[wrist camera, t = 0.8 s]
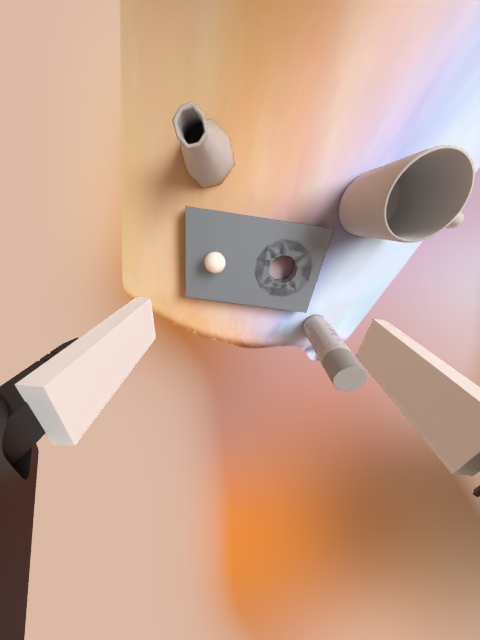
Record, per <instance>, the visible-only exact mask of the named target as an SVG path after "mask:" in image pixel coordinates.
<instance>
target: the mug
mask: <svg viewBox="0 0 480 640" xmlns="http://www.w3.org/2000/svg"><path fill="white" fill-rule="evenodd" d="M474 177H475V170H474V164H473V162H472V159H471V157H470V156H469V154H468V153H467V152H466V151H464V150H463V149H461V148H459V147H456V146H451V145H443V146H437V147H433V148H430V149H427V150H424V151H421V152H419V153H416V154H413V155H411V156H408V157H405V158H403V159H400V160H398V161H395V162H392V163H390V164H387V165H384V166H382V167H379V168H376V169H373V170H370V171H367V172H365V173H363V174H362V175H360V176H358V177H357V178H356V179H355V180H354V181H353V182H352V183H351V184H350V185H349V186H348V187H347V189H346V190H345V192H344V194H343V196H342V198H341V201H340V204H339V220H340V223H341V225H342V227H343V228H344V229H345V230H346V231H347V232H349V233H350V234H353V235H356V236H364V237H372V238H379V239H385V240H392V241H398V242H418V241H421V240H425V239H427V238H430V237H432V236H434V235H435V234H437V233H439V232H440V231H442V230H443V229H445V228H454V227H457V226H458V225H459V224H460V223H461V222H462V221H463V220H464V215H463V214H462V213H461V210H462V209H463V207H464V206H465V204H466V202H467V201H468V198H469V196H470V194H471V191H472V188H473V184H474Z"/></svg>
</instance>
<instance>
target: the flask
mask: <svg viewBox="0 0 480 640" xmlns="http://www.w3.org/2000/svg"><path fill="white" fill-rule="evenodd" d="M173 124H174V128H175V132H176V135H177V138H178V139H179V141H180V142H181V146H180V147H181V151H182V154H183V158H184V162H185V166H186V170H187V172H188V173H189V174H190V175H191V176H192V177H193V178H194V179H195V180H196V181H197V182H198V183H199V184H200V185H201V186H202V187H203V188H205V187H209V186H213V185H217V184H221V183H222V182H223V181H224V180H225V178H226V177H227V175H228V174H229V172H230V171H231V169H232V168H233V167H234V165H235V164H234V158H233V152H232V146H231V140H230V138H229V136H228V135H227V134H226V133H225V132H224V131H223V129H222V128H221V127H220V126H219V125H218V124H217V123H216V121H215V120H214V119H210V120H206V119H205V115H204V114H203V113H202V111H201V110H200V109H199V108H198V107H197V106H196V105H195V103H194V102H191V103H188V104H184V105H181V106H180V107H179V109H178V110H177V112H176V114H175V116H174V118H173Z"/></svg>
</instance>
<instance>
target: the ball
mask: <svg viewBox="0 0 480 640" xmlns="http://www.w3.org/2000/svg"><path fill="white" fill-rule="evenodd" d="M205 266H206V268H207V270H208V271H210V272H212V273H219V272H221V271H222V270H223V269H224V267H225V258H224V257H223V255H222V254H220V253H219V252H211V253H209V254H208V255H207V256H206V258H205Z"/></svg>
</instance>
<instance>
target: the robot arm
mask: <svg viewBox="0 0 480 640" xmlns="http://www.w3.org/2000/svg"><path fill="white" fill-rule="evenodd" d="M155 338H156V335H155V327H154V320H153V312H152V304H151V298H148V297H136V298H134V299H133V300H132V301H130V302H129V303H127V304H126V305H125V306H123V307H122V308H121V309H119V310H118V311H117V312H115V313H114V314H112V315H111V316H109V317H108V318H107V319H105V320H104V321H102V322H101V323H100V324H98V325H97V326H95V327H94V328H93V329H91V330H90V331H89V332H87V333H86V334H84V335H83V336H82V337H80V338H75V339H73V340H70V341H68V342H66V343H64V344H62V345H60V346H59V347H57V348H56V349H54V350H53V351H51V353H50V354H47V355H46V356H44V357H43V358H41V359H40V361H37V362H35V363H34V364H32V365H31V366H29V367H28V368H27V369H25V370H24V371H22V372H21V373H19V374H18V375H16V376H15V377H13V378H12V379H11V380H9V381H7V382H6V383H5V384H3V385H2V386H0V640H24V634H25V621H26V607H27V595H28V582H29V569H30V556H31V542H32V528H33V516H34V503H35V488H36V477H37V464H38V447H37V445H36V442H37V441H38V440H39V439H40V438H41V437H42V436H43V435H44V434H46V436H47V437H48V439H49V441H50V442H51V444H57V445H70V446H75V445H76V444H77V442H78V441H79V440H80V438H81V437H82V436H83V434H84V433H85V432H86V430H87V429H88V428H89V426H90V425H91V424H92V422H93V421H94V420H95V418H96V417H97V416H98V414H99V413H100V412H101V410H102V409H103V408H104V406H105V405H106V404H107V402H108V401H109V400H110V398H111V397H112V396H113V394H114V393H115V392H116V390H117V389H118V388H119V386H120V385H121V384H122V382H123V381H124V380H125V378H126V377H127V376H128V374H129V373H130V372H131V370H132V369H133V368H134V366H135V365H136V363H137V362H138V361H139V360H140V358H141V357H142V356H143V354H144V353H145V351H146V350H147V349H148V348H149V346H150V345H151V344H152V342H153V341H154V340H155ZM356 357H357V358H358V359H359V361H360V362H361V363H362V364H363V365H364V367H365V368H366V369H367V370H368V372H369V373H370V374H371V375H372V376H373V378H374V379H375V380H376V381H377V383H378V384H379V385H380V386H381V388H382V389H383V390H384V391H385V392H386V394H387V395H388V396H389V397H390V398H391V400H392V401H393V402H394V403H395V405H396V406H397V407H398V408H399V410H400V411H401V412H402V413H403V414H404V416H405V417H406V418H407V419H408V421H409V422H410V423H411V424H412V426H413V427H414V428H415V429H416V430H417V431H418V433H419V434H420V435H421V437H422V438H423V439H424V440H425V441H426V443H427V444H428V445H429V446H430V447H431V449H432V450H433V451H434V452H435V454H436V455H437V456H438V457H439V459H440V460H441V461H442V462H443V464H444V465H445V466H446V467H447V468H448V470H449V471H450V472H451V473H452V474H455V475H468V476H473V475H475V474H476V473H477V472H479V471H480V387H478V386H477V385H476V384H474V383H473V382H471V381H470V380H469V379H467V378H466V377H464V376H463V375H462V374H460V373H459V372H457V371H456V370H454V369H453V368H452V367H450V366H449V365H448V364H446V363H445V362H443V361H442V360H441V359H439V358H438V357H436V356H435V355H433V354H432V353H431V352H429V351H428V350H427V349H425V348H424V347H422V346H421V345H420V344H418V343H417V342H415V341H414V340H413V339H411V338H410V337H408V336H407V335H406V334H404V333H403V332H401V331H400V330H399V329H397V328H396V327H394V326H393V325H392V324H390V323H389V322H387V321H386V320H377V319H373V321H372V323H371V325H370V327H369V329H368V331H367V333H366V335H365V338H364V340H363V342H362V344H361V346H360V348H359V350H358V353H357V354H356ZM473 495H475V496H477V497H479V496H480V486H478V487H477V488H476V489H474V493H473Z"/></svg>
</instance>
